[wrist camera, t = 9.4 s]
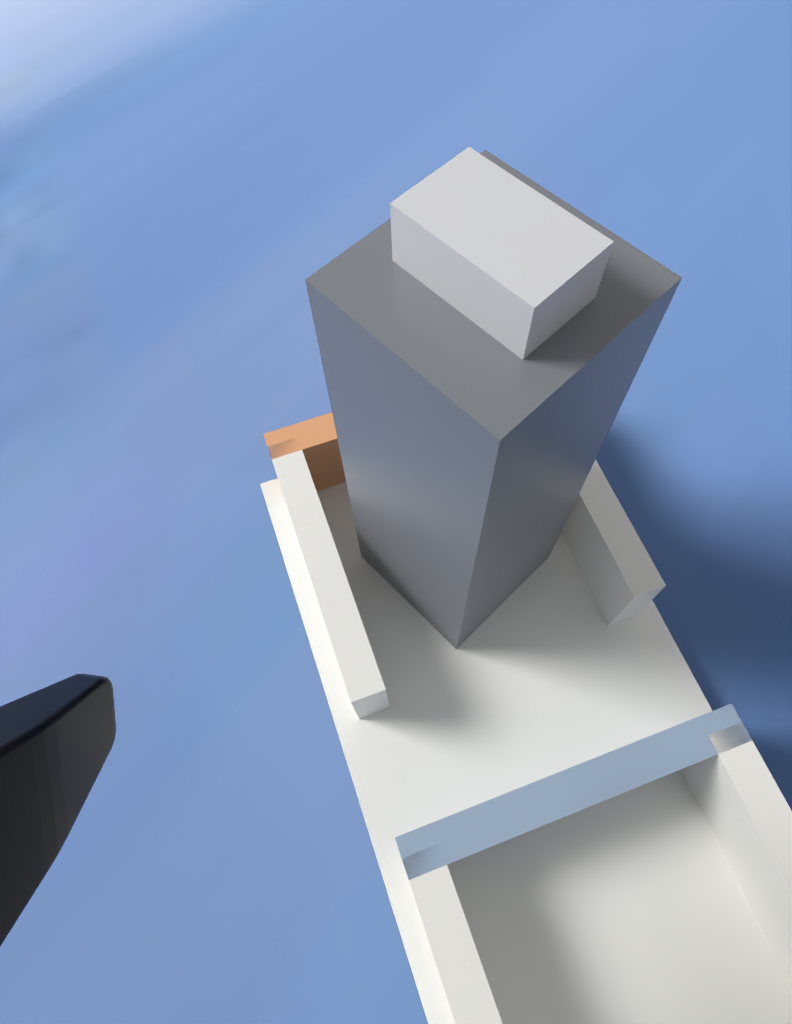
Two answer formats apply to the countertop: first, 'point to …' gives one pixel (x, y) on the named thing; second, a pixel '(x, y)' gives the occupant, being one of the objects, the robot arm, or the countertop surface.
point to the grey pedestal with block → (477, 378)
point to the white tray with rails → (545, 778)
